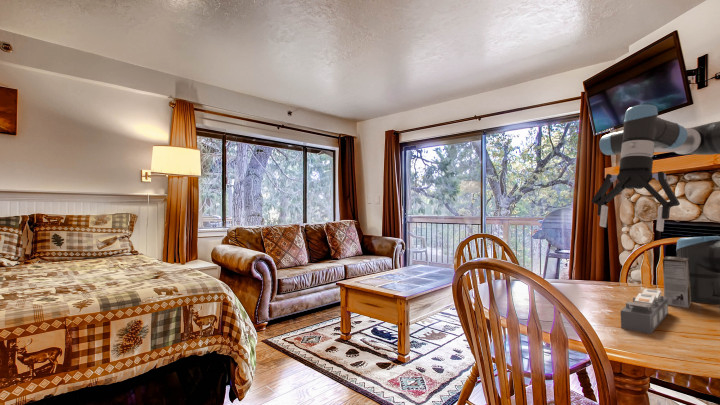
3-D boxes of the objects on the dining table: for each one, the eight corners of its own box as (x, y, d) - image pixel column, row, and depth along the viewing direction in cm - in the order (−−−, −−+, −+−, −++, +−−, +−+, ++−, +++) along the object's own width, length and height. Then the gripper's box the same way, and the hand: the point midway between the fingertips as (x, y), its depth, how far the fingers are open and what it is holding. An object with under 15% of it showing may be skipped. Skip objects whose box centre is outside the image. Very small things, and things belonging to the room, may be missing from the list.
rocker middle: (639, 296, 105) (638, 292, 105) (655, 299, 102) (655, 294, 102) (634, 304, 101) (634, 300, 101) (652, 307, 98) (651, 302, 98)
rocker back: (645, 292, 110) (644, 288, 110) (661, 294, 107) (660, 290, 107) (641, 299, 107) (640, 295, 106) (657, 301, 104) (657, 297, 103)
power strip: (642, 309, 112) (641, 290, 113) (669, 313, 107) (668, 293, 107) (621, 328, 95) (620, 305, 95) (651, 334, 90) (651, 311, 90)
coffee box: (667, 299, 124) (665, 255, 124) (691, 302, 119) (689, 257, 119) (663, 304, 118) (661, 258, 118) (689, 308, 113) (687, 260, 113)
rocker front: (632, 306, 99) (632, 301, 100) (650, 309, 96) (650, 304, 97) (627, 305, 96) (627, 300, 96) (645, 308, 93) (645, 303, 93)
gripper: (584, 158, 107) (576, 223, 106) (690, 149, 86) (683, 230, 85) (594, 163, 111) (587, 226, 110) (698, 156, 90) (692, 234, 89)
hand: (629, 228), depth 97 cm, fingers open, 13 cm apart
